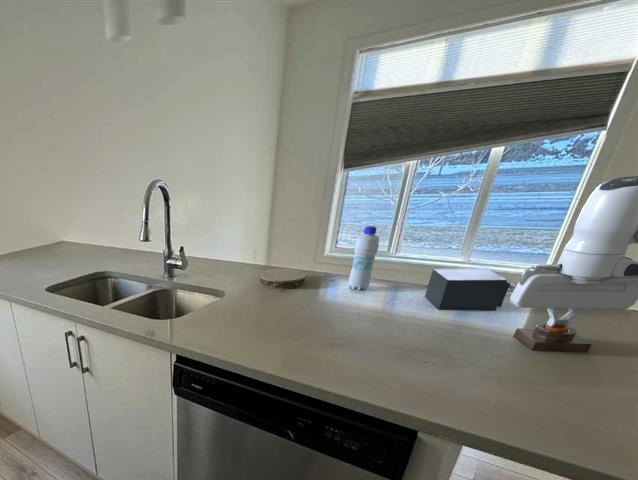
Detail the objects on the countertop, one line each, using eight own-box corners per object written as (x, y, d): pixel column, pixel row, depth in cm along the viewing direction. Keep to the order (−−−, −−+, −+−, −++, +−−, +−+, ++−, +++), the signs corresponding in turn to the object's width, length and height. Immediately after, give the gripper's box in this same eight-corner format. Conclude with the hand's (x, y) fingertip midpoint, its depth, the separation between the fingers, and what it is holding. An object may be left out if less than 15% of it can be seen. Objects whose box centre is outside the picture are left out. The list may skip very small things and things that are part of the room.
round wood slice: (258, 288, 144) (258, 280, 143) (260, 276, 157) (260, 268, 156) (306, 289, 139) (307, 280, 138) (303, 276, 152) (305, 268, 151)
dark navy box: (476, 297, 121) (487, 268, 117) (495, 310, 111) (507, 280, 107) (424, 296, 125) (432, 268, 120) (438, 309, 115) (447, 280, 111)
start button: (558, 330, 92) (562, 323, 92) (568, 336, 90) (572, 329, 89) (539, 329, 93) (542, 322, 93) (548, 336, 90) (552, 329, 90)
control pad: (564, 338, 95) (572, 322, 93) (587, 353, 88) (596, 336, 86) (512, 336, 98) (519, 321, 96) (531, 351, 91) (538, 334, 89)
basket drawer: (501, 294, 118) (511, 271, 115) (520, 307, 110) (531, 282, 106) (434, 294, 123) (441, 272, 120) (447, 306, 115) (455, 282, 111)
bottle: (371, 291, 132) (385, 227, 122) (348, 291, 134) (361, 228, 124) (366, 285, 138) (380, 223, 128) (345, 285, 140) (356, 224, 130)
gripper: (534, 268, 84) (508, 329, 91) (663, 267, 78) (624, 333, 85) (518, 261, 89) (494, 319, 96) (638, 259, 83) (603, 321, 90)
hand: (556, 325), depth 91 cm, fingers closed, pressing on start button
